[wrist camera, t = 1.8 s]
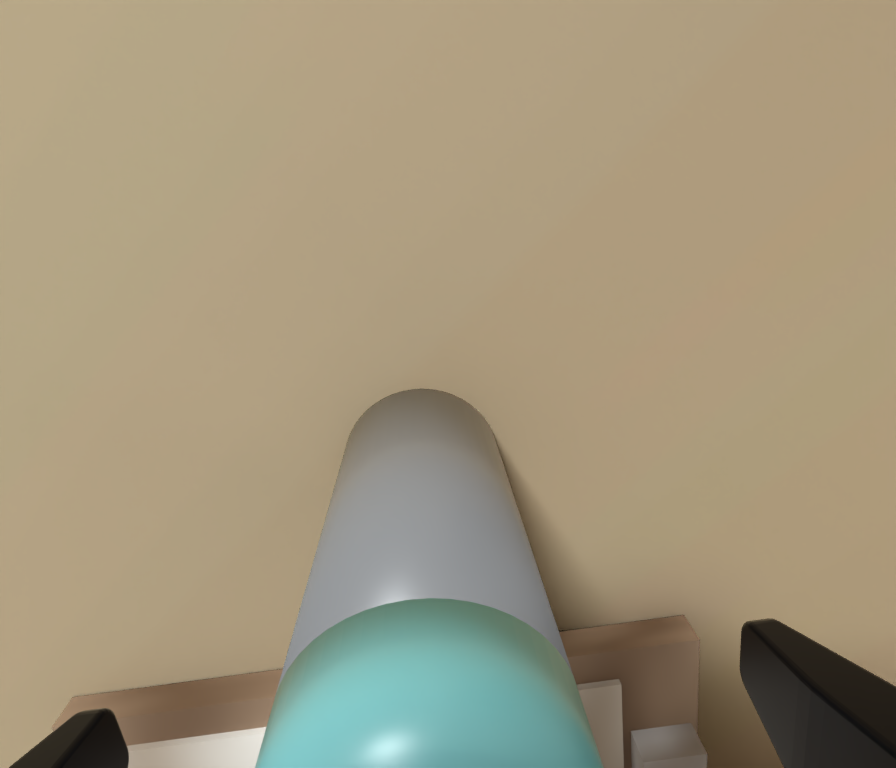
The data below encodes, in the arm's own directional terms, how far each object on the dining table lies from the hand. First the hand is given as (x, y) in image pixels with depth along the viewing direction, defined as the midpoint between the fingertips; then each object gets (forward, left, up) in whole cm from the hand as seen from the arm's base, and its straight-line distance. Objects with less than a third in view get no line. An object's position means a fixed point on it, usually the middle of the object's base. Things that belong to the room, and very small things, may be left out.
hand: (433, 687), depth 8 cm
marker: (0, 0, -7) cm, 7 cm away
